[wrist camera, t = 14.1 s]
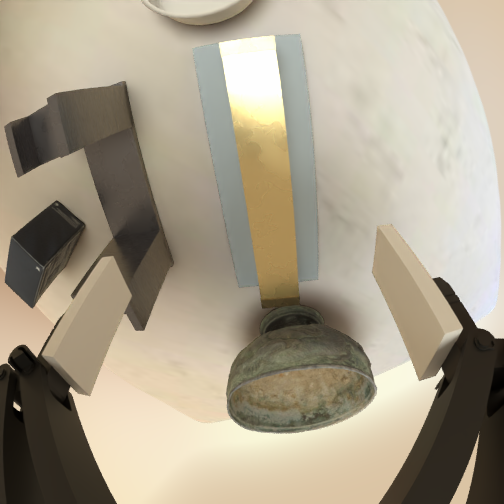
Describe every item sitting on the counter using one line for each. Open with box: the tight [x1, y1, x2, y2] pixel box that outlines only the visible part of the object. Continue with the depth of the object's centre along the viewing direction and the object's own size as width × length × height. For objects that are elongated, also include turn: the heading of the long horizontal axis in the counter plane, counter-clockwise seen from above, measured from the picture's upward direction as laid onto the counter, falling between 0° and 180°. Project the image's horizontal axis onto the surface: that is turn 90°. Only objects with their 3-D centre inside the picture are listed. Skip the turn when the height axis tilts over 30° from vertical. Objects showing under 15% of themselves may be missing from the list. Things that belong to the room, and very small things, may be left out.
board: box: [192, 34, 318, 287], centre depth 28 cm, size 10×28×2 cm, turn 8°
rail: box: [219, 36, 300, 308], centre depth 25 cm, size 4×26×5 cm, turn 8°
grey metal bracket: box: [4, 81, 174, 331], centre depth 25 cm, size 7×24×12 cm, turn 8°
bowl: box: [226, 305, 377, 433], centre depth 36 cm, size 20×19×15 cm
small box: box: [5, 201, 85, 308], centre depth 30 cm, size 11×6×10 cm, turn 136°
